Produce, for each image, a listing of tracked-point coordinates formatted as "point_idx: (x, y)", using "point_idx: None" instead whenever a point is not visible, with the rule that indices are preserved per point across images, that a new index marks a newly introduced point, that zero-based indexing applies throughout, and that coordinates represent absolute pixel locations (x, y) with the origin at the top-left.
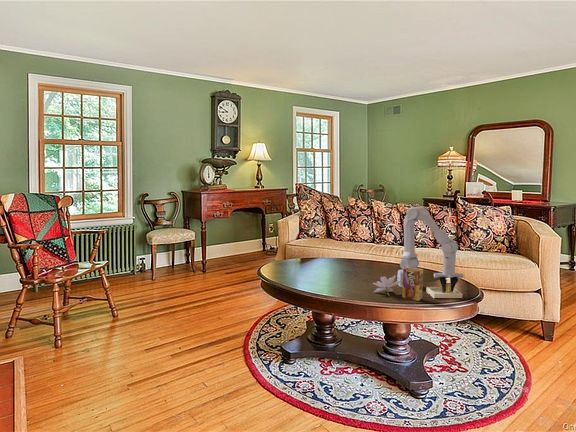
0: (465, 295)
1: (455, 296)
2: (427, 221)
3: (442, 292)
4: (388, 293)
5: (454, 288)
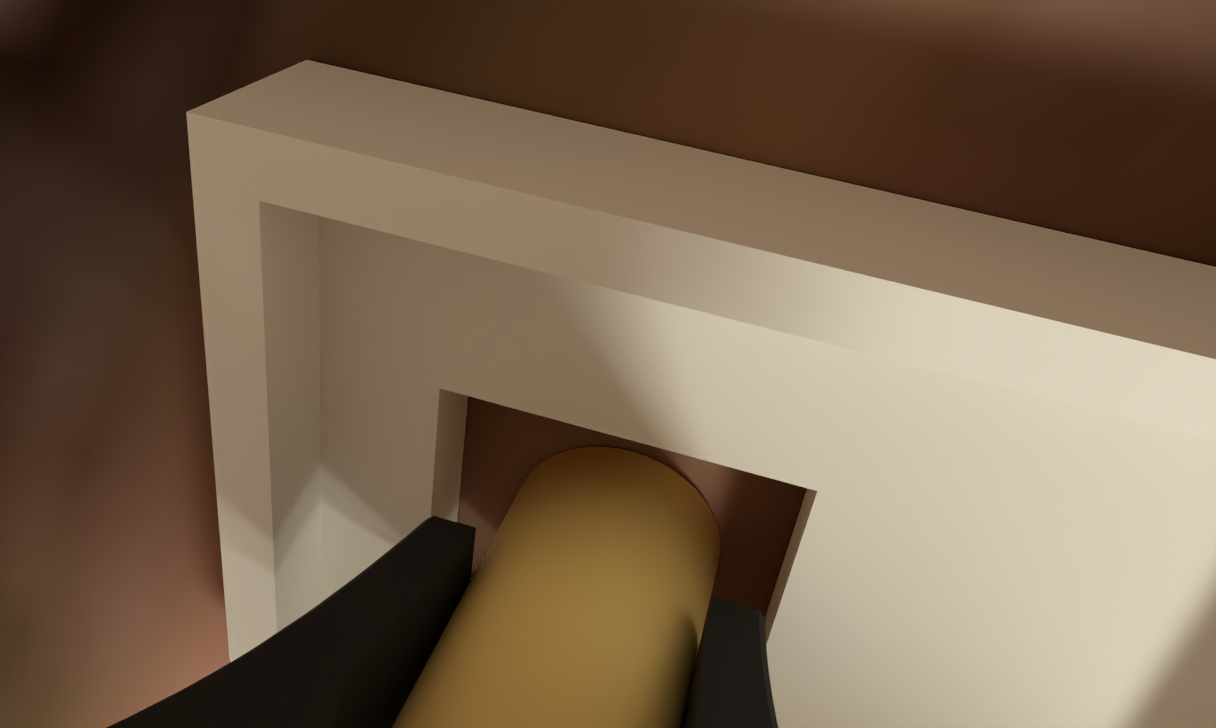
0: (81, 356)
1: (535, 146)
2: None
3: None
4: None
5: None
